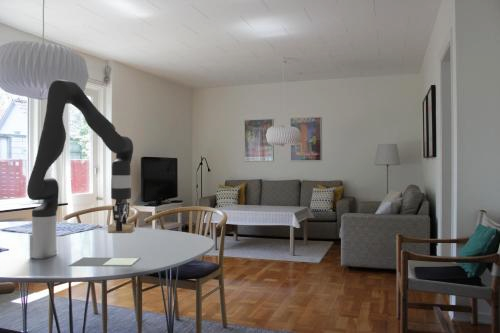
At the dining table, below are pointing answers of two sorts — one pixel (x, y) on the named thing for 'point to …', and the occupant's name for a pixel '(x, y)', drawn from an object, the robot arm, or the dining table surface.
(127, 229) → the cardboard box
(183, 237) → the dining table surface
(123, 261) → the mat
